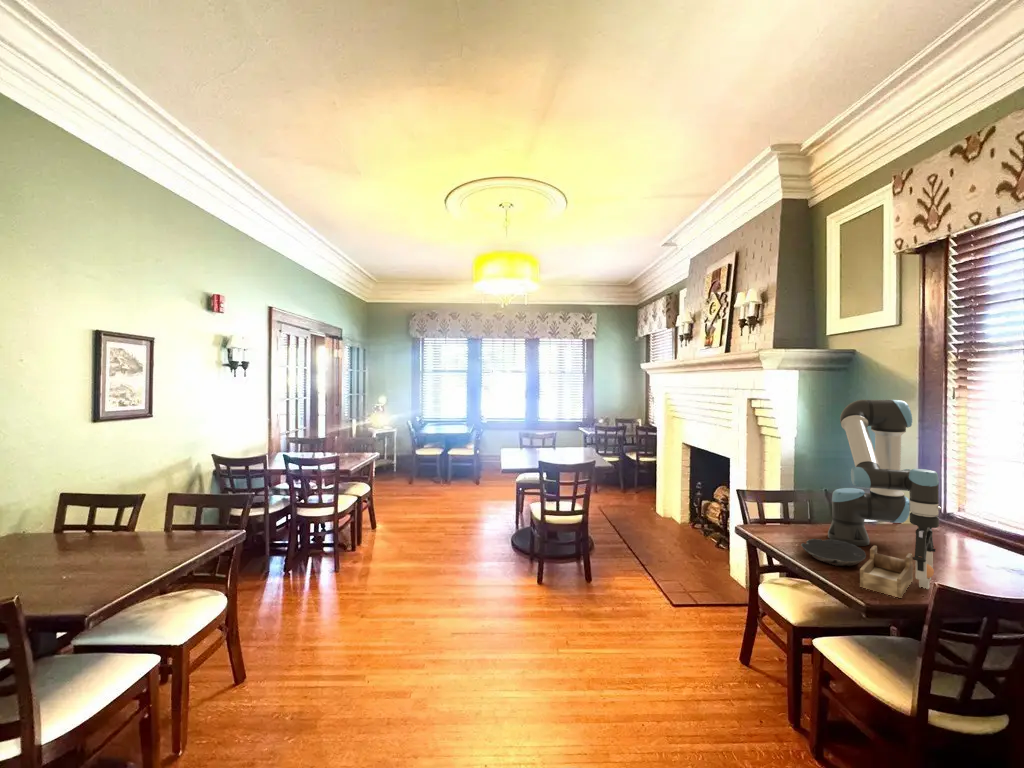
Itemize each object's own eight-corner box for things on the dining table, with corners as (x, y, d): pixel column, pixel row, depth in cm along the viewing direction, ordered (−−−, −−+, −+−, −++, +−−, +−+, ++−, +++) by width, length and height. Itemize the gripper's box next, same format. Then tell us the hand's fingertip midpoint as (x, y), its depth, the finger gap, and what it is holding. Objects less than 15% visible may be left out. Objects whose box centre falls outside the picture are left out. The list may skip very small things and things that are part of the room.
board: (882, 566, 172) (881, 553, 172) (840, 576, 166) (840, 563, 166) (827, 546, 193) (826, 535, 193) (788, 555, 187) (788, 543, 187)
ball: (913, 576, 155) (913, 562, 155) (915, 573, 158) (915, 559, 158) (932, 581, 151) (932, 567, 151) (935, 577, 154) (934, 563, 154)
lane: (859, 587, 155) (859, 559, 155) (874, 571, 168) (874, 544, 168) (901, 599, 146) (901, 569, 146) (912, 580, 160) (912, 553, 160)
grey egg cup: (917, 586, 155) (917, 576, 155) (918, 584, 157) (918, 573, 157) (929, 590, 152) (929, 579, 152) (931, 587, 154) (931, 576, 154)
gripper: (933, 523, 144) (933, 588, 144) (943, 509, 160) (944, 568, 159) (902, 518, 150) (903, 580, 149) (915, 505, 165) (916, 562, 165)
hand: (924, 574), depth 154 cm, fingers open, 13 cm apart
